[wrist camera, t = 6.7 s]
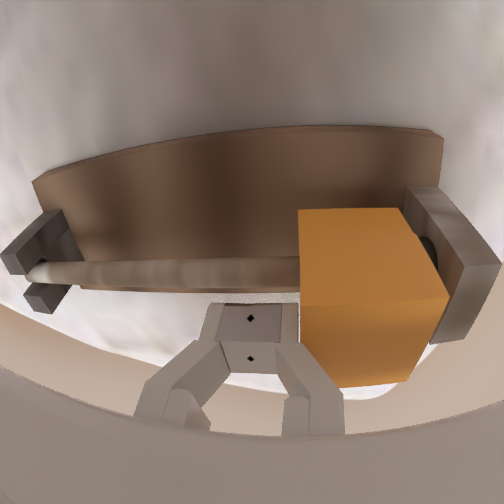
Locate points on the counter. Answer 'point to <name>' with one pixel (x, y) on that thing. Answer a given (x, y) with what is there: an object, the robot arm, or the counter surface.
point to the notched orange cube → (365, 294)
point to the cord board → (241, 215)
